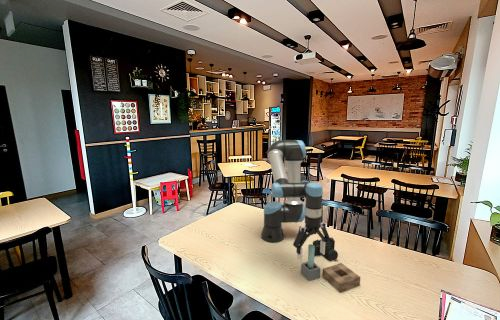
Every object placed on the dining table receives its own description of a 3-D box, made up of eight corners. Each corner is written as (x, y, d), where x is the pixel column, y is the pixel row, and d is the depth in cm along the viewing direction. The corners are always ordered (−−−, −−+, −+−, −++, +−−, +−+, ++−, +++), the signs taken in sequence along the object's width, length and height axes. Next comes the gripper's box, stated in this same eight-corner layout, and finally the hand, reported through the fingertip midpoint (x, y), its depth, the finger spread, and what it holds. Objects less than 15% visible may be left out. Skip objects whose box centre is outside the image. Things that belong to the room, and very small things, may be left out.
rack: (322, 277, 116) (322, 268, 115) (340, 271, 121) (341, 262, 120) (340, 294, 105) (340, 284, 105) (359, 286, 110) (360, 277, 109)
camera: (320, 264, 127) (321, 247, 125) (310, 254, 137) (310, 238, 135) (342, 260, 131) (343, 244, 129) (330, 250, 141) (331, 234, 139)
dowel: (305, 274, 118) (307, 245, 115) (310, 272, 119) (312, 243, 116) (309, 277, 115) (311, 248, 112) (314, 276, 116) (316, 246, 113)
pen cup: (300, 274, 119) (301, 263, 118) (311, 271, 121) (311, 260, 120) (308, 282, 113) (309, 271, 112) (319, 279, 115) (320, 268, 114)
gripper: (295, 223, 103) (294, 266, 107) (339, 214, 113) (336, 254, 116) (286, 216, 110) (285, 258, 113) (328, 208, 120) (326, 247, 123)
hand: (311, 256), depth 115 cm, fingers open, 13 cm apart
